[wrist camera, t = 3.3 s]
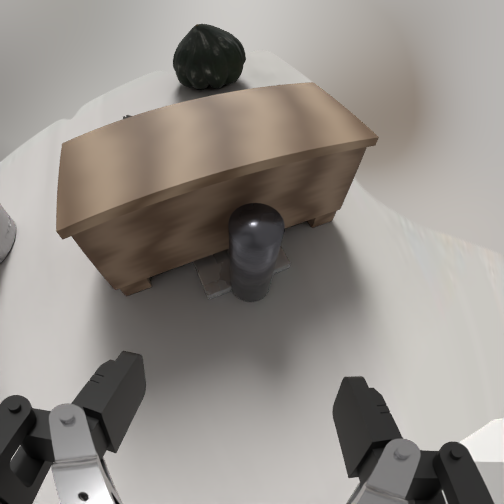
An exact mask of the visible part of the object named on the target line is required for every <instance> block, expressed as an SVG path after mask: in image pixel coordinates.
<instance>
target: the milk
mask: <svg viewBox="0 0 504 504" xmlns="http://www.w3.org/2000/svg"><path fill="white" fill-rule="evenodd" d="M458 443H461V444H463V445H464V446H465V447H466V448H467V449H468V451H469V453H470V454H471V456H472V458H473V460H474V462H475V464H476V466H477V468H478V470H479V472H480V474H481V476H482V478H483V480H484V482H485V484H486V486H487V489H488V491H489V493H490V495H491V497H492V499H493V502H494V504H504V419H494V420H492V421H491V422H489V423H488V424H487V425H485V426H484V427H482V428H481V429H479V430H478V431H476V432H475V433H473V434H472V435H470V436H468V437H467V438H465V439H464V440H462V441H460V442H458ZM442 493H443V496H444V499H445V502H446V504H448V502H447V500H446V497H445V494H444V492H443V490H442Z"/></svg>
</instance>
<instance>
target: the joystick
mask: <svg viewBox="0 0 504 504" xmlns="http://www.w3.org/2000/svg"><path fill="white" fill-rule="evenodd" d="M228 227H229V249H226V250H223V251H220V252H218V253H215V254H212V255H209V256H207V257H204V258H201V259H198V260H196V261H193V263H194V265H195V268H196V270H197V273H198V275H199V278H200V280H201V283H202V285H203V288H204V290H205V292H206V295H207V297H208V300H209V299H212V298H214V297H217V296H219V295H222V294H225V293H227V292H230V291H232V292H233V293H234V295H235V296H236V297H237V298H239V299H241V300H243V301H246V302H255V301H258V300H260V299H262V298H263V297H265V296H266V294H267V293H268V291H269V288H270V284H271V280H272V277H273V274H275V273H278V272H280V271H283V270H285V269H288V268H289V267H290V264H291V263H290V261H289V259H288V258H287V256H286V254H285V253H284V251H283V249H282V248H281V242H282V238H283V234H284V229H285V224H284V220H283V218H282V216H281V215H280V213H279V212H278V211H277V210H275V209H274V208H272V207H271V206H269V205H266V204H262V203H249V204H245V205H242V206H240V207H239V208H237V209H236V210H235V211H234V212H233V213H232V214H231V216H230V218H229V223H228Z"/></svg>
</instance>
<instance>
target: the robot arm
mask: <svg viewBox="0 0 504 504" xmlns="http://www.w3.org/2000/svg"><path fill="white" fill-rule="evenodd" d="M15 235H16V225H15V223H14V221H13V220H12V218H11V217H10V216H9V215H8V213H7V212H6V211H5V210H4V208H3V207H2V206H1V204H0V263H1V262H2V261H3V260H4V258H5V257H6V256H7V254H8V252H9V251H10V249H11V247H12V245H13V242H14V239H15ZM145 390H146V381H145V373H144V365H143V358H142V355H140V354H135V353H131V352H127V351H123V352H122V353H121V354H120V355H119V357H118V358H117V359H116V361H113V360H109V361H107V362H106V363H104V364H102V365H101V366H100V367H99V368H98V369H97V371H96V372H95V374H94V375H93V376H92V377H91V378H90V381H88V382H87V384H86V385H85V386H84V387H83V389H82V390H81V391H80V393H79V394H78V395H77V397H76V398H75V399H74V401H73V402H72V403H71V404H61V405H58V406H56V407H55V408H54V409H53V410H52V411H46V410H40V409H34V408H32V406H31V404H30V402H29V401H28V399H26V398H25V397H23V396H20V395H13V396H9V397H7V398H6V399H4V400H3V401H2V403H1V404H0V504H32V503H33V501H34V499H35V497H36V495H37V493H38V491H39V489H40V487H41V485H42V483H43V481H44V479H45V477H46V475H47V473H48V471H49V469H50V467H51V465H52V473H53V477H54V482H55V486H56V490H57V494H58V497H59V501H60V504H123V503H122V501H121V499H120V497H119V495H118V493H117V490H116V488H115V486H114V483H113V481H112V478H111V476H110V473H109V471H108V468H107V465H106V463H105V460H104V458H103V456H104V454H105V452H106V450H108V451H111V452H114V453H117V450H118V448H119V446H120V444H121V442H122V440H123V438H124V436H125V434H126V432H127V430H128V428H129V426H130V424H131V422H132V420H133V417H134V415H135V413H136V411H137V409H138V407H139V405H140V403H141V401H142V399H143V397H144V395H145ZM333 419H334V423H335V427H336V430H337V434H338V438H339V442H340V446H341V450H342V454H343V458H344V462H345V466H346V470H347V474H348V478H354V477H359V480H360V483H359V484H358V485H357V487H356V489H355V490H354V492H353V493H352V495H351V497H350V498H349V500H348V501H347V503H346V504H446V502H445V499H444V496H443V493H442V490H443V492H444V494H445V497H446V500H447V502H448V504H494V502H493V499H492V497H491V495H490V493H489V491H488V489H487V486H486V484H485V482H484V480H483V478H482V476H481V474H480V472H479V470H478V468H477V466H476V464H475V462H474V460H473V458H472V456H471V454H470V453H469V451H468V449H467V448H466V447H465V446H464V445H463V444H461V443H458V442H448V443H446V444H444V445H443V446H442V447H441V449H440V450H439V451H422V450H419V448H418V446H417V445H416V444H415V443H413V442H412V441H410V440H407V439H403V438H402V436H401V434H400V432H399V429H398V427H397V425H396V423H395V421H394V419H393V417H392V415H391V413H390V411H389V409H388V407H387V406H386V403H385V401H384V399H383V397H382V395H381V394H380V393H379V392H378V391H376V390H375V389H374V388H369V387H368V385H367V383H366V381H365V379H364V377H362V376H360V377H344V378H343V380H342V383H341V386H340V388H339V391H338V394H337V397H336V399H335V402H334V405H333ZM20 445H21V446H20ZM19 446H20V447H19ZM18 447H19V449H18ZM17 449H18V451H17V452H16V450H17ZM15 452H16V454H15V455H14V453H15ZM13 455H14V457H13ZM12 457H13V459H12V460H11V458H12ZM10 461H11V462H10ZM53 462H54V463H53Z"/></svg>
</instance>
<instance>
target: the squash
mask: <svg viewBox="0 0 504 504" xmlns="http://www.w3.org/2000/svg"><path fill="white" fill-rule="evenodd" d="M245 60H246V57H245V52H244V48H243V46H242V44H241V42H240V41H239V40H238V39H237V38H235V37H234V36H233V35H232V34H230V33H229V32H226V31H224V30H222V29H220V28H217V27H214V26H211V25H207V24H197V25H196V26H194V27H193V28H192V29H191V30H190V32H189V33H188V34H187V35H186V36H185V37H184V38H183V39H182V41H181V42H180V43H179V45H178V47H177V49H176V51H175V54H174V59H173V67H174V69H175V71H176V75H177V77H178V80H179V81H180V83H181V84H183V85H185V86H188V87H194V88H196V89H205V88H207V87H208V85H210V86H211V87H213V88H221V87H222V86H223V85H224V84H231V83H233V82H235V81H236V80H237V79H238V78H239V77H240V75H241V73H242V69H243V64H244V62H245Z"/></svg>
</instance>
